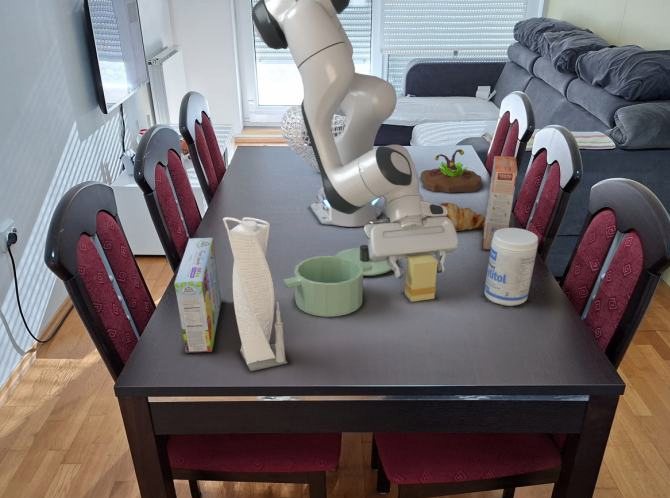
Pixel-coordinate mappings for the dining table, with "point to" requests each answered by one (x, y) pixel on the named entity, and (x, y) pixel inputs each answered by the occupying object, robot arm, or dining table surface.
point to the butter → (421, 277)
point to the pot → (328, 285)
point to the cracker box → (500, 197)
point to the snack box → (198, 295)
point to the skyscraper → (254, 295)
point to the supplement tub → (510, 266)
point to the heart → (293, 144)
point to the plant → (451, 177)
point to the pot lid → (365, 260)
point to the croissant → (464, 217)
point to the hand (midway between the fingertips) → (420, 274)
